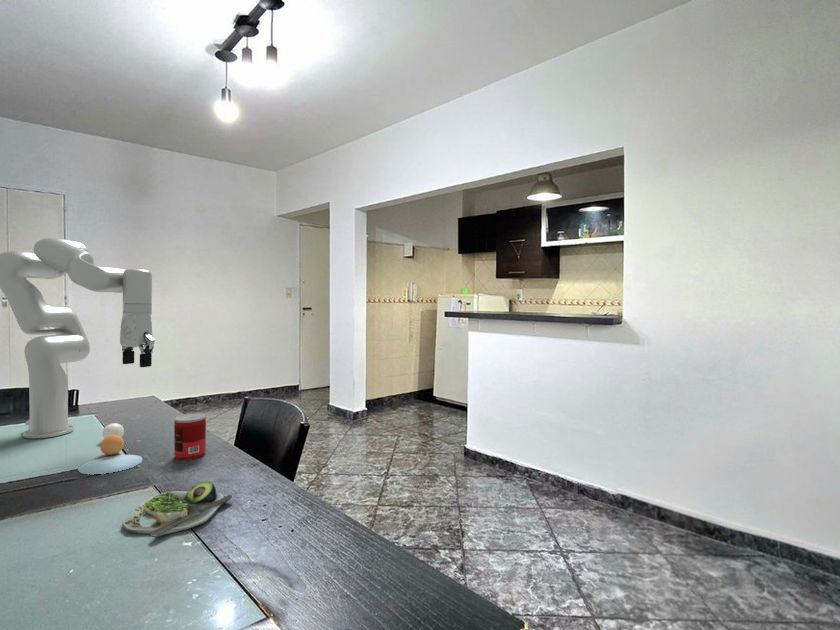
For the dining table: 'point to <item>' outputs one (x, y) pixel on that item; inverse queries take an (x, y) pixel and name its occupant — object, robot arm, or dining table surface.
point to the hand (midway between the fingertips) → (136, 365)
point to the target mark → (110, 464)
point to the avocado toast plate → (177, 510)
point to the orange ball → (111, 444)
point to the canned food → (190, 436)
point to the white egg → (113, 430)
